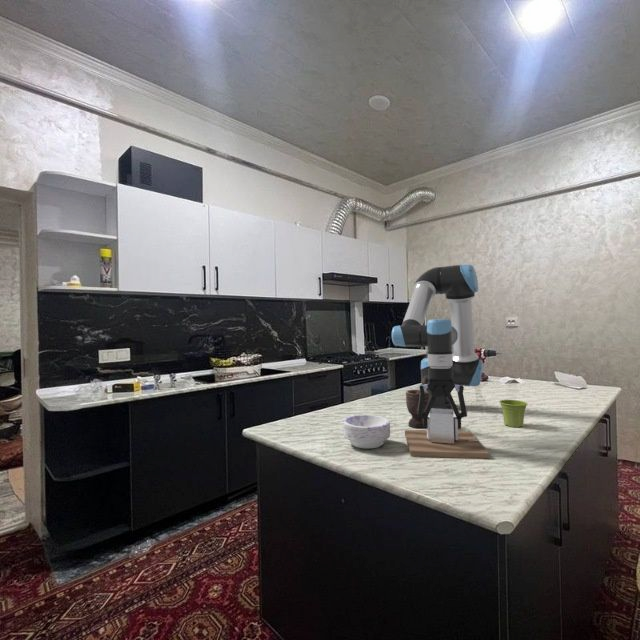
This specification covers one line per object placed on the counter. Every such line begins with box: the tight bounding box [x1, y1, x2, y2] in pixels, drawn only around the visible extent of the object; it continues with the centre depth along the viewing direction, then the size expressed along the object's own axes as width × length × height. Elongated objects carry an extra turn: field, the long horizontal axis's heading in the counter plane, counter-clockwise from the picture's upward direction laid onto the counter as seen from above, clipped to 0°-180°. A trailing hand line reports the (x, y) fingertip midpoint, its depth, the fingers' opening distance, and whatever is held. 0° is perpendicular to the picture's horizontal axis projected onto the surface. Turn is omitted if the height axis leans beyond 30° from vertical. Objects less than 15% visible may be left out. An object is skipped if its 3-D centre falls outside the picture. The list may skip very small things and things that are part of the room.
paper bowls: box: [342, 414, 391, 450], centre depth 121 cm, size 15×15×8 cm
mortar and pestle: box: [405, 375, 429, 429], centre depth 139 cm, size 12×9×20 cm
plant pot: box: [499, 399, 528, 428], centre depth 138 cm, size 9×9×9 cm
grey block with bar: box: [429, 408, 454, 444], centre depth 120 cm, size 11×7×9 cm, turn 161°
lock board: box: [404, 429, 490, 460], centre depth 118 cm, size 22×22×2 cm
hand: (442, 438), depth 118 cm, fingers closed on grey block with bar, 8 cm apart
